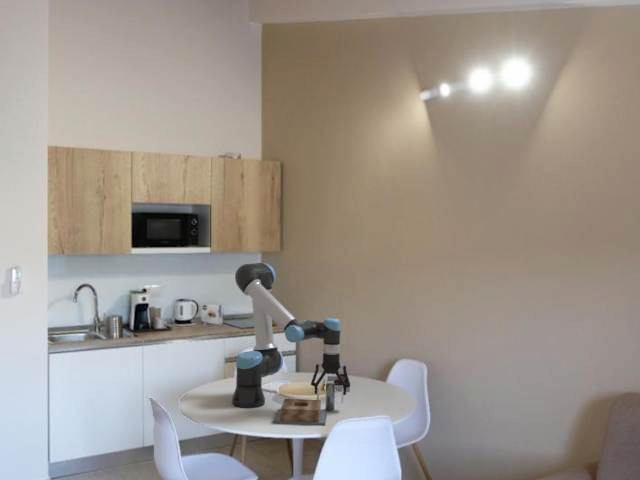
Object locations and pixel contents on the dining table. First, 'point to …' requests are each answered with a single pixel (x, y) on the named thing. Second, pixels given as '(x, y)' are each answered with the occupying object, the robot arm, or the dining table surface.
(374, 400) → the dining table surface
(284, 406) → the socket
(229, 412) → the dining table surface
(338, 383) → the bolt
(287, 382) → the calculator
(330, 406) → the peg
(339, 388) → the parts tray
